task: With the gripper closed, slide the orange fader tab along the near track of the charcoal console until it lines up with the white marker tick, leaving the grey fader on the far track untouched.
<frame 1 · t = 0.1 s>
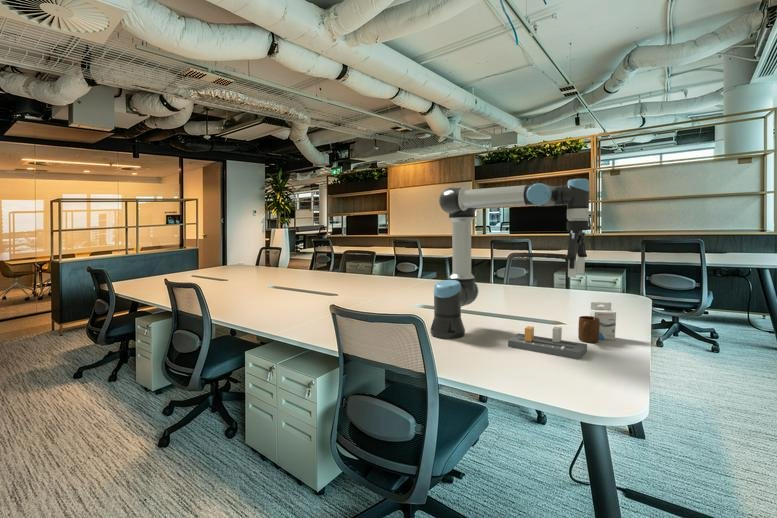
hand: (576, 275, 148), 28 cm above the table, fingers open, 13 cm apart
mug: (587, 342, 156), on the table, touching ink box
ink box: (602, 338, 160), on the table, touching mug
fader far: (557, 334, 148), point 5 cm above the table, slide at 0.0 cm
console: (546, 348, 148), on the table
fader tab: (529, 333, 150), point 5 cm above the table, slide at 0.0 cm
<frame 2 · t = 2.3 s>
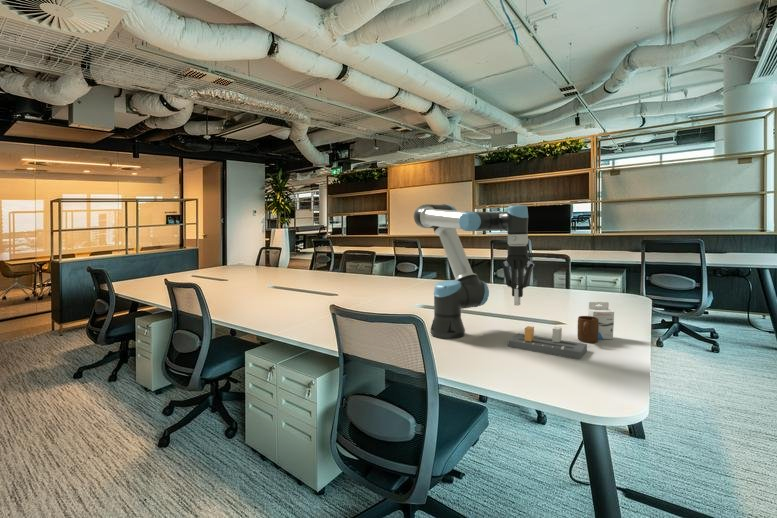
hand: (517, 304, 152), 16 cm above the table, fingers closed
ink box: (600, 338, 161), on the table, touching mug
everything else where it was.
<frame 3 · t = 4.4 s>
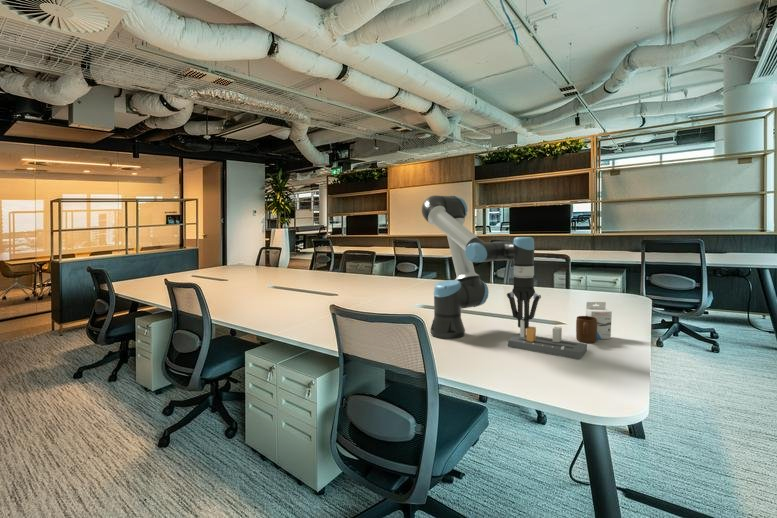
hand: (523, 335, 151), 4 cm above the table, fingers closed
mug: (586, 342, 155), on the table, touching ink box
fader tab: (531, 334, 149), point 5 cm above the table, slide at 0.7 cm, touching gripper
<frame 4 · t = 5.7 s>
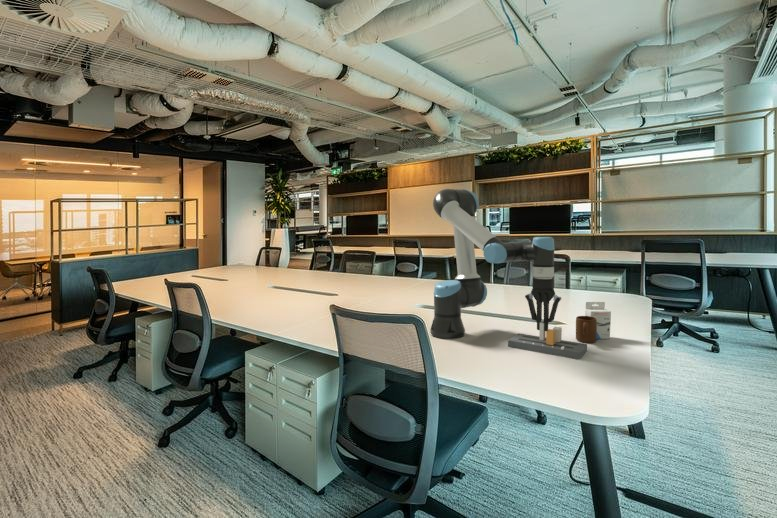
hand: (542, 338, 147), 4 cm above the table, fingers closed
mug: (585, 342, 155), on the table, touching ink box
ink box: (597, 337, 161), on the table, touching mug
fader tab: (550, 337, 145), point 5 cm above the table, slide at 8.0 cm, touching gripper
everything else where it was.
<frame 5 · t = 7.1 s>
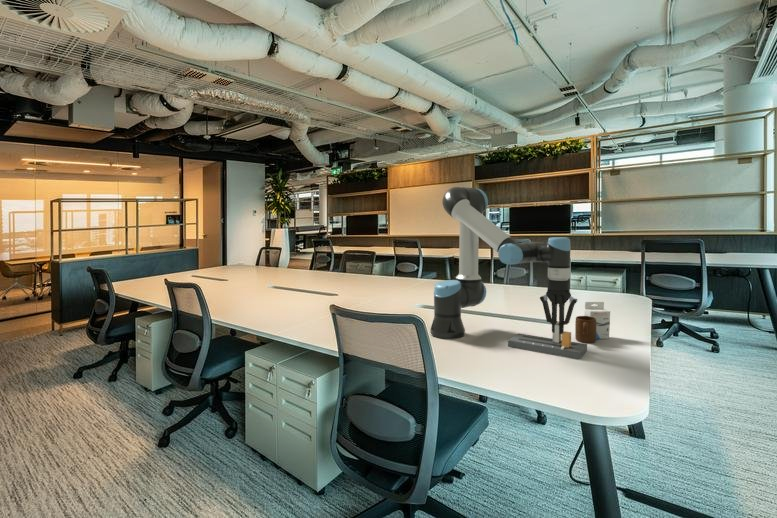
hand: (557, 341, 144), 4 cm above the table, fingers closed
fader tab: (566, 339, 142), point 5 cm above the table, slide at 13.5 cm, touching gripper
everything else where it was.
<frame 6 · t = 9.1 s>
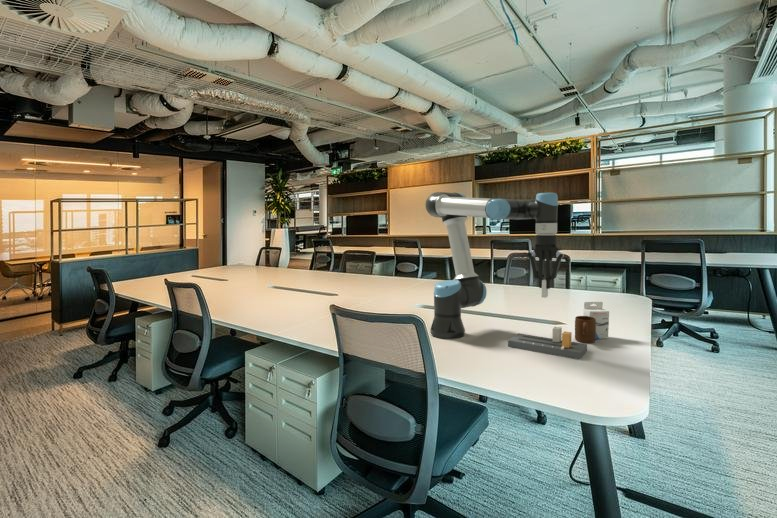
hand: (544, 296, 145), 20 cm above the table, fingers closed
ink box: (595, 337, 161), on the table, touching mug
fader tab: (566, 339, 142), point 5 cm above the table, slide at 13.6 cm
everything else where it was.
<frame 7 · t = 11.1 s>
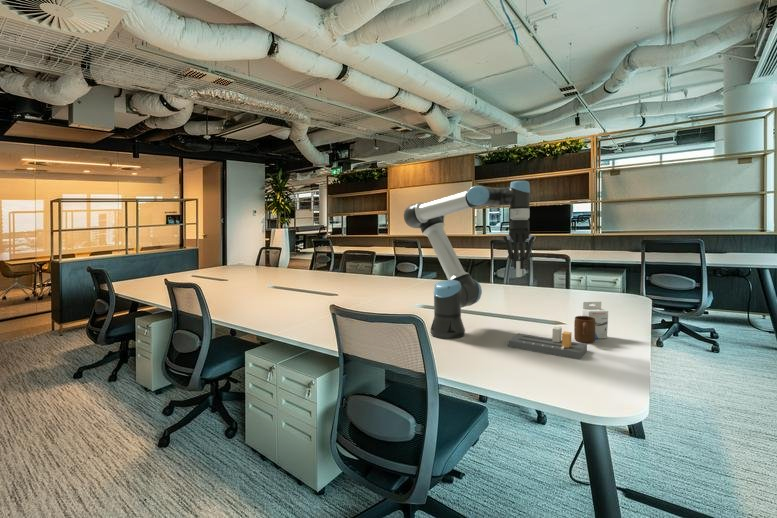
hand: (519, 276, 159), 26 cm above the table, fingers closed
ink box: (594, 337, 162), on the table, touching mug
everything else where it was.
at the end: fader tab slide at 13.6 cm; fader far slide at 0.0 cm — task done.
